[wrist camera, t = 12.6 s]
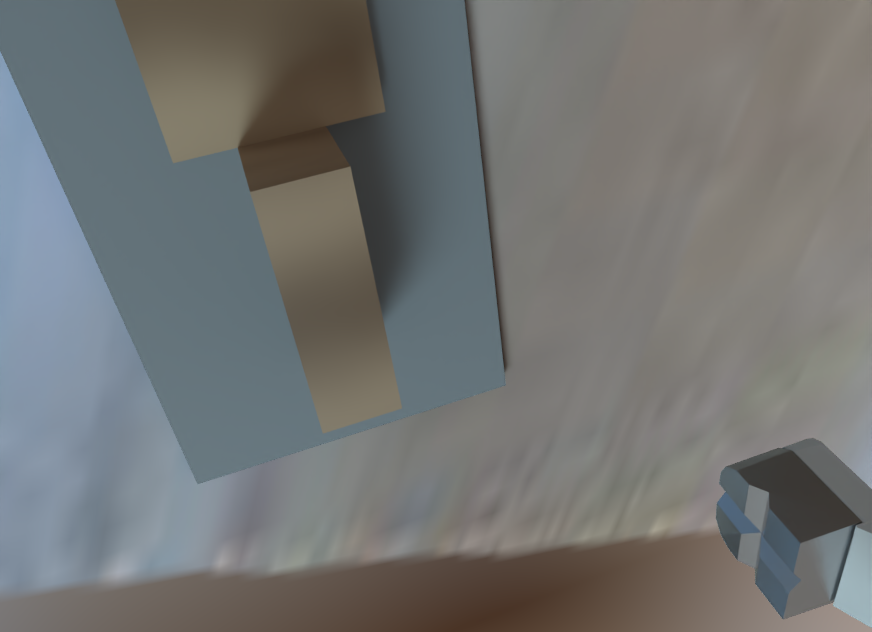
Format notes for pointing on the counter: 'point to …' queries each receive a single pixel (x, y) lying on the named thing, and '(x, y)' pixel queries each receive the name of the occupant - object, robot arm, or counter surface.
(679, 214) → the counter surface
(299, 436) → the tool rest mat
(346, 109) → the tan stepped block
